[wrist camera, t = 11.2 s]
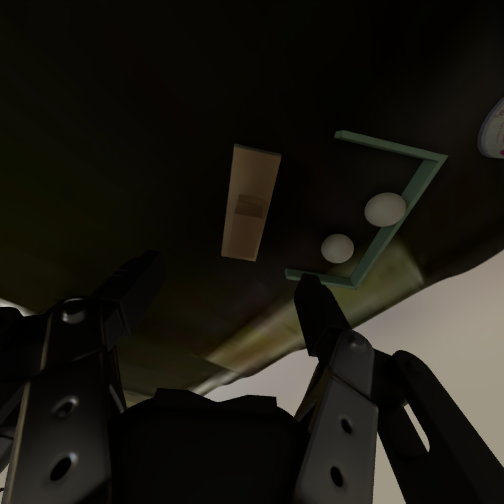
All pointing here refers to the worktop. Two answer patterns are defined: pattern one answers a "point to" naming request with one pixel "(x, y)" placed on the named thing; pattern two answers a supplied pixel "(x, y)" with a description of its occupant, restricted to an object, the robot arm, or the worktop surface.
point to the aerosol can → (493, 132)
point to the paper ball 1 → (337, 248)
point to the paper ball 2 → (385, 209)
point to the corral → (385, 233)
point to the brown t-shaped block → (248, 200)
